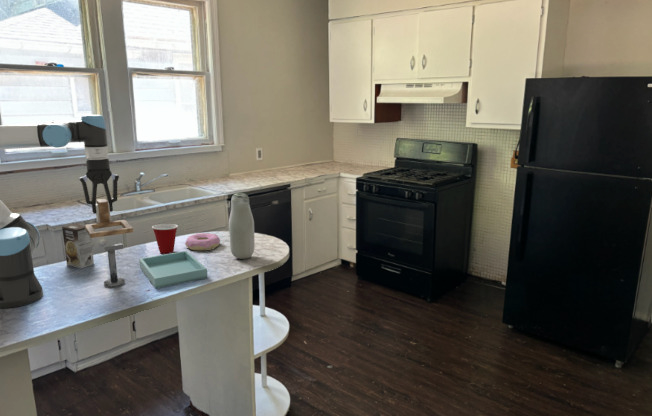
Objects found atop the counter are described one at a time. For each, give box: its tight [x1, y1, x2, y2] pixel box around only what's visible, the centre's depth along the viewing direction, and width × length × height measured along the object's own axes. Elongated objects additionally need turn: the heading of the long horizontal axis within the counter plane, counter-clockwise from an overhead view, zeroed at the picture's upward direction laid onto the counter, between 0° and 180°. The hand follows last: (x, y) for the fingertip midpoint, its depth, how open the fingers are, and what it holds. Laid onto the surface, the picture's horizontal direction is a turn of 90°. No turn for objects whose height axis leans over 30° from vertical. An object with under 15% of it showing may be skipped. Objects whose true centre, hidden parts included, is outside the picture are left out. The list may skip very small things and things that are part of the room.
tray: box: [138, 250, 208, 289], centre depth 185 cm, size 19×25×4 cm
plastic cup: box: [151, 223, 179, 255], centre depth 209 cm, size 11×11×12 cm
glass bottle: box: [228, 192, 255, 260], centre depth 200 cm, size 10×10×28 cm
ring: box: [84, 198, 134, 239], centre depth 171 cm, size 14×20×9 cm
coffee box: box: [61, 223, 95, 269], centre depth 192 cm, size 9×6×16 cm
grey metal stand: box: [103, 243, 126, 289], centre depth 173 cm, size 8×7×15 cm
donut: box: [184, 232, 221, 252], centre depth 218 cm, size 16×15×5 cm
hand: (103, 220), depth 179 cm, fingers closed on ring, 3 cm apart
